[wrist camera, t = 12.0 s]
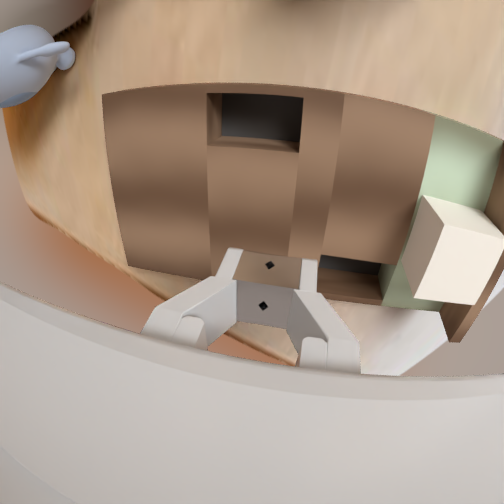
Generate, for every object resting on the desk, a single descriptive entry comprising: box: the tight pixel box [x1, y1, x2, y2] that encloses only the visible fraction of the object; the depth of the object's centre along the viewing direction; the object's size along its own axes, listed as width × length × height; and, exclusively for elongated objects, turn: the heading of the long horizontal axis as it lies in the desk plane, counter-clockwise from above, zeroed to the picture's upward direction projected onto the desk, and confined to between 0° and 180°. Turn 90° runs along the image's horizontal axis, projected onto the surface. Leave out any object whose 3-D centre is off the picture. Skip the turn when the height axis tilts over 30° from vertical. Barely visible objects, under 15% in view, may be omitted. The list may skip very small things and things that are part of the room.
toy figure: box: [0, 25, 75, 108], centre depth 11 cm, size 11×6×12 cm, turn 86°
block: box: [401, 195, 504, 305], centre depth 14 cm, size 4×4×4 cm
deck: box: [102, 83, 504, 342], centre depth 16 cm, size 13×25×6 cm, turn 88°
